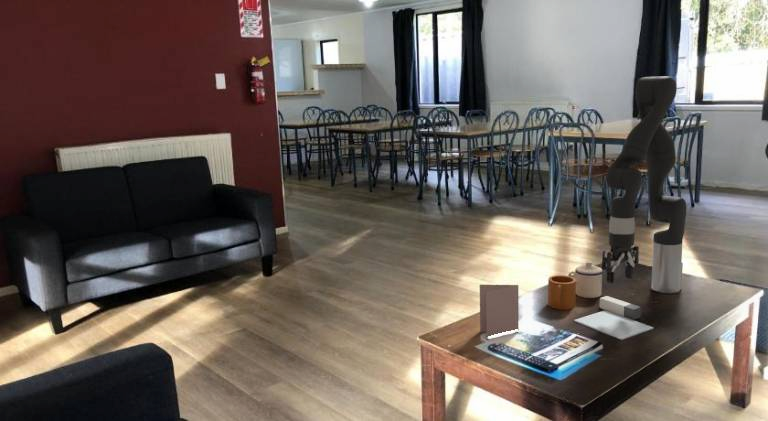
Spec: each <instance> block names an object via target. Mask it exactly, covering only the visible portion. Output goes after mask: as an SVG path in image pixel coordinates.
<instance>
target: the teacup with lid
mask: <svg viewBox="0 0 768 421" xmlns="http://www.w3.org/2000/svg"><path fill="white" fill-rule="evenodd" d="M603 271H604V270H603V269H602V267H599V266H596V265H595V264H593V262H592V261H586V262H585V264H582V265H578V266H576V268H575V270H574V271H570V272H569V273H568V274H567V276H570V277H572V274H573V275H575V279H576V295H577V296H579V297H580V298H586V299H595V298H600V296H601V297H602V286H603V285H602V284H603V282H602V280H603Z"/></svg>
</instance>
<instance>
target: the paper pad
mask: <svg viewBox="0 0 768 421" xmlns="http://www.w3.org/2000/svg"><path fill="white" fill-rule="evenodd" d="M573 321H574V322H575V323H578V324H580V325H583V326H586V327H588V328H591V329H593V330H596V331H598V332H601V333H603V334H605V335H608V336H611V337H613V338H616V339H619V340H621V341H623V340H625V339H628V338H631V337H634V336H637V335H640V334H643V333H645V332H648V331H652V330H653V329H654V327H653V326H650V325H647V324H645V323H643V322H639V321H637V320H635V319H634V320H633V319H630V318H627V317H624V316H621V315H619V314H616V313H613V312H610V311H607V310H605V309H603V310H602V311H599V312H595V313H592V314H589V315H586V316H581V317H579V318H576V319H574V320H573Z"/></svg>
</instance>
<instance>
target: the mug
mask: <svg viewBox="0 0 768 421" xmlns="http://www.w3.org/2000/svg"><path fill="white" fill-rule="evenodd" d="M547 284H548V285H547V287H548V288H547V305H548V306H549V307H550V308H553V309H556V310H570V309H574V308H575V307H576V297H577V296H576V295H577V294H576V277H573V276H571V277H570V276H568V275H561V274H556V275H552V276H551V275H550V276H549V277H548V283H547Z"/></svg>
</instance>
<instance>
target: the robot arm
mask: <svg viewBox="0 0 768 421" xmlns="http://www.w3.org/2000/svg"><path fill="white" fill-rule="evenodd" d="M676 93H677V83H676V81H675V79H674V78H673V77H672V76H666V75H664V76H645V77H641V78H639V79H638V81H637V83H636V85H635V100H636V105H637V110H638V114H639V120H640V121H639V122H638V123H636V125H635V126H634V127H633V128H632V129H631V131H629V133H628V135H627V137H626V138H625V141H624V143H623V147H622V150H621V152H620V153H619V154H618V155H617V157H616V159H615V160H614V161H613V162H612V164H610V167H609V168H608V169H607V172H606V175H605V183H606V186H608V188H610V189H613V190H621V191H624V192H625V193H624V194H623V196H616V197H613V198H612V199H611V201H610V216H609V217H610V218H609V223H608V224H609V225H608V245H609V246H610V250H608V251H607V250H603V252H602V260H601V269H602V271H606V281H607V283H609V284H614V283H615V270H616V268H617V267H619V265H620V264H621V263H624V264H625V270H624V271H625V272H624V274H625V278H626V279H633V276H634V267H635V266H636V265H638V264H639V257H640V256H639V254H640V253H639V249H640V248H639V246H638V245H635V231H636V230H635V228H636V221H635V212H636V211H635V210H636V202H637V200H638V199H637V198H638V195H639V193H640V189H641V187H642V184H643V175H642V174H643V173H642V172H641V170H640V169H638V168H635V167H632V166H638V165H640V164H642V163H643V162H644V160H645V163H646V164H645V165H646V172H647V179H648V180H647V181H648V211H649V215H650V218H651V220H652V221H654V222H659V223H666V224H669V226H668V229H665V230H660V231H657V232H655V233H654V234H653V242H652V245H653V246H652V266H651V267H652V270H651V290H652V291H655V292H657V293H661V294H676V293H680V291H681V289H682V285H683V282H682V281H683V269H684V268H683V266H684V265H683V264H684V263H683V262H682V257H683V239H684V234H685V228H686V226H685V225H686V218H687V217H686V216H687V207H688V205H687V203H686V200H685V199H684V198H683V197H680V196H673V195H672V196H671V195H666V194H664V183H665V181H666V179H667V177H668V176H669V174H670V173H671V171H672V169H673V168H674V166H675V164H676V160H677V158H676V157H677V156H676V147H675V141H674V139H673V137H672V135H671V133H669V131H668V130H667V129H666V127H665V126H664V125H663V123H662V122H663V120H664V118H665V117H666V115H667V113H668V111H669V109H670V108H671V106H672V104H673V103H674V100H675V98H676Z"/></svg>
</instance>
